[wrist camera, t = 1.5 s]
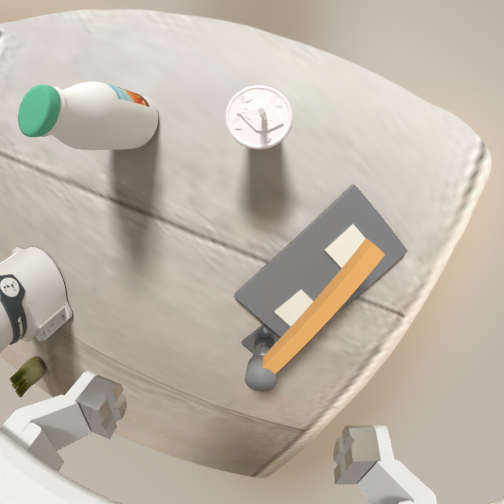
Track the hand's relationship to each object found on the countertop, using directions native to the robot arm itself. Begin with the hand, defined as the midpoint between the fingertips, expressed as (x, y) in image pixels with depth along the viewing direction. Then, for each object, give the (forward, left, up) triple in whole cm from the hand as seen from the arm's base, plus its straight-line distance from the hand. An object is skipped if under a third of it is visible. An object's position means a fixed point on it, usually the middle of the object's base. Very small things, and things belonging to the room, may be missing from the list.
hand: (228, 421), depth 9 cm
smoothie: (+8, +9, -31) cm, 33 cm away
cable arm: (-4, -11, -25) cm, 28 cm away
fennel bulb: (-64, +15, -31) cm, 72 cm away
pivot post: (-14, -13, -31) cm, 36 cm away
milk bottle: (-3, +23, -31) cm, 39 cm away
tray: (0, -10, -31) cm, 32 cm away
